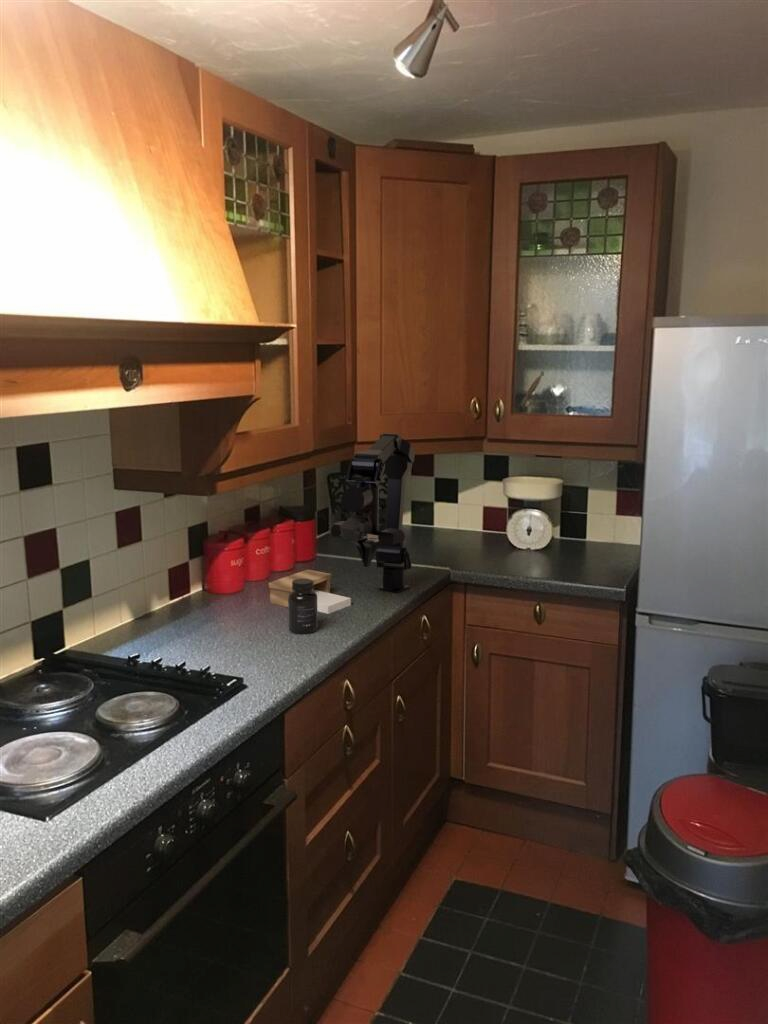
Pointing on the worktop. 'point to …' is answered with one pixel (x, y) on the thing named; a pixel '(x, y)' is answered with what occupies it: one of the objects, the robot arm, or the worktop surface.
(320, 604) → the panel
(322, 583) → the oak shelf
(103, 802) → the worktop surface
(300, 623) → the supplement bottle
